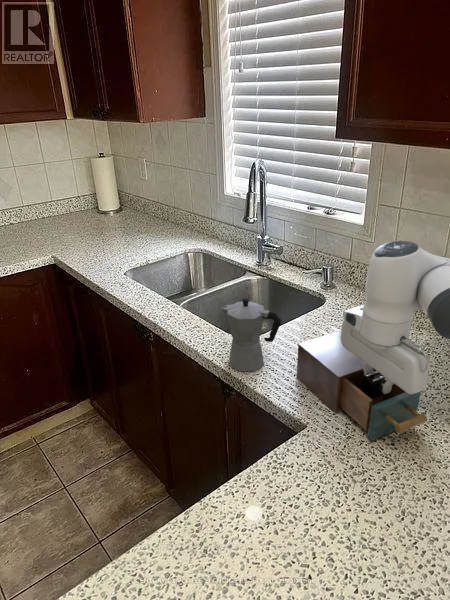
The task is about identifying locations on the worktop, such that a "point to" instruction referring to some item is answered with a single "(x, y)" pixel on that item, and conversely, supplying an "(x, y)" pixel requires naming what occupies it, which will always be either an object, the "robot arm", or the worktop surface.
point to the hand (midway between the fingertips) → (376, 385)
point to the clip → (373, 384)
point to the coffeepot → (248, 333)
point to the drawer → (380, 408)
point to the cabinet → (326, 367)
